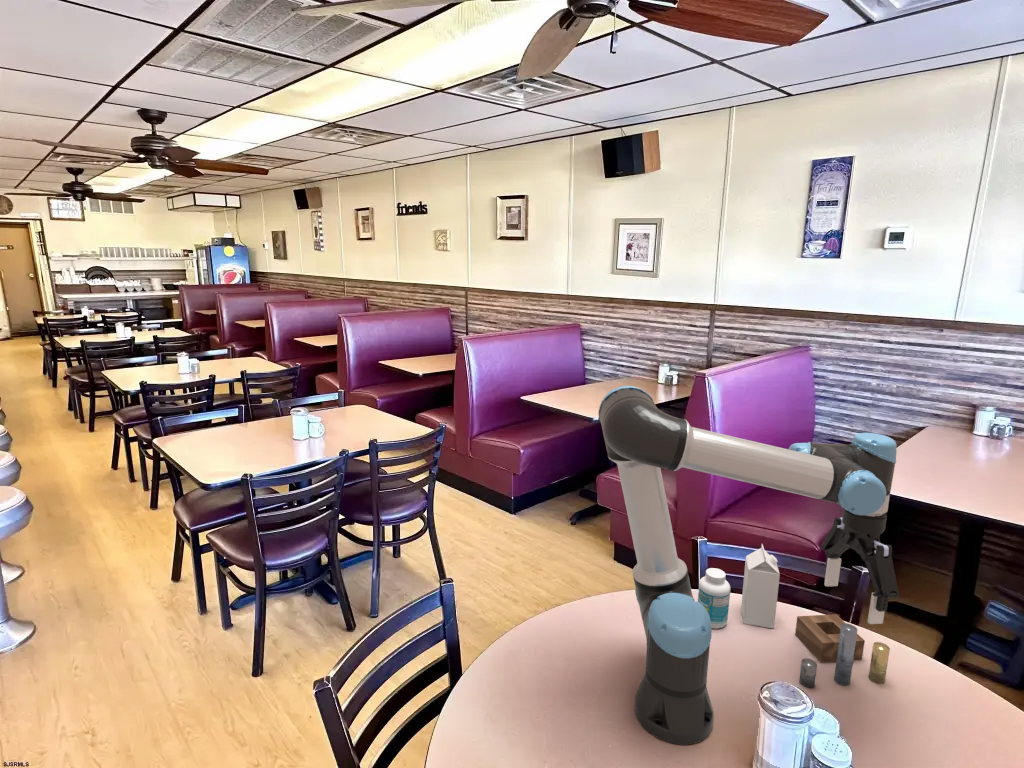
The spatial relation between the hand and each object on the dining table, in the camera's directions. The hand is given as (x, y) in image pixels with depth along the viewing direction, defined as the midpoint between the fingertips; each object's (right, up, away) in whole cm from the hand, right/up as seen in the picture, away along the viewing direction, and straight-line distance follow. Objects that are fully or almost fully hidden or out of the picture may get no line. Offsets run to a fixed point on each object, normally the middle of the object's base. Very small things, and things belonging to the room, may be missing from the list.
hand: (851, 603), depth 119 cm
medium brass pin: (+8, -18, +4) cm, 20 cm away
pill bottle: (-21, -14, +24) cm, 35 cm away
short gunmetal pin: (-8, -18, +3) cm, 20 cm away
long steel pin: (0, -18, +3) cm, 19 cm away
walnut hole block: (+3, -16, +14) cm, 22 cm away
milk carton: (-9, -14, +25) cm, 30 cm away
